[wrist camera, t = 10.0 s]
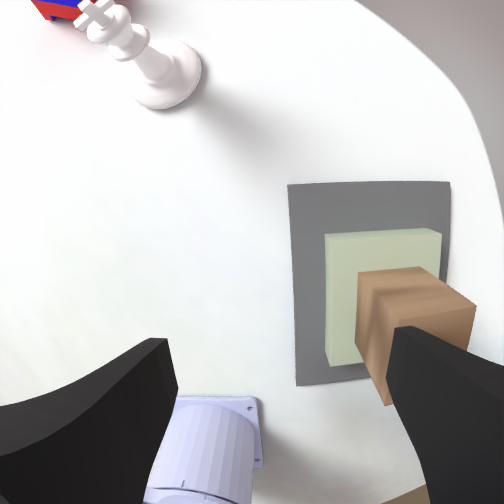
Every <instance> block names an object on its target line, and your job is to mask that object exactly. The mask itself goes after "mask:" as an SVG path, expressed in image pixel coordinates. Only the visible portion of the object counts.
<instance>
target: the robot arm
mask: <svg viewBox="0 0 504 504" xmlns="http://www.w3.org/2000/svg"><path fill="white" fill-rule="evenodd" d="M385 379H386V382H387V385H388V389H389V392H390V395H391V398H392V401H393V404H394V406H395V408H396V410H397V412H398V414H399V416H400V418H401V421H402V423H403V425H404V427H405V429H406V431H407V433H408V435H409V437H410V440H411V442H412V444H413V446H414V448H415V450H416V453H417V455H418V458H419V460H420V463H421V467H422V470H423V474H424V477H425V481H426V485H427V489H428V494H429V498H430V503H431V504H504V366H502V365H499V364H496V363H493V362H491V361H488V360H486V359H483V358H481V357H478V356H476V355H474V354H471V353H469V352H467V351H465V350H463V349H461V348H459V347H456V346H454V345H452V344H450V343H448V342H446V341H444V340H442V339H440V338H438V337H436V336H434V335H432V334H430V333H428V332H426V331H424V330H422V329H419V328H417V327H414V326H403V327H396V328H394V334H393V341H392V347H391V352H390V358H389V363H388V368H387V373H386V378H385ZM177 392H178V385H177V380H176V376H175V372H174V368H173V363H172V359H171V354H170V349H169V345H168V340H167V338H148V339H146V340H144V341H143V342H141V343H139V344H138V345H136V346H134V347H133V348H131V349H129V350H128V351H126V352H125V353H123V354H122V355H120V356H118V357H117V358H115V359H114V360H112V361H110V362H109V363H107V364H106V365H104V366H102V367H100V368H99V369H97V370H95V371H93V372H92V373H90V374H88V375H86V376H84V377H83V378H81V379H79V380H77V381H75V382H73V383H71V384H69V385H67V386H64V387H62V388H60V389H57V390H55V391H52V392H50V393H47V394H44V395H41V396H38V397H35V398H32V399H28V400H25V401H22V402H18V403H14V404H9V405H5V406H0V504H251V500H252V482H253V469H254V468H262V467H263V454H262V445H261V436H260V427H259V417H258V408H257V401H256V399H255V398H253V397H185V396H177ZM249 407H253V408H249ZM166 429H167V431H166ZM165 432H166V434H165ZM164 435H165V436H164ZM163 437H164V439H163ZM162 440H163V442H162ZM161 442H162V445H161ZM160 445H161V447H160ZM159 447H160V450H159ZM158 450H159V453H158V456H157V458H156V461H155V464H154V467H153V470H152V472H151V475H150V478H149V474H150V471H151V468H152V465H153V463H154V460H155V457H156V455H157V452H158ZM148 478H149V481H148ZM147 482H148V484H147Z"/></svg>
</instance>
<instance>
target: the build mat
mask: <svg viewBox="0 0 504 504" xmlns="http://www.w3.org/2000/svg"><path fill="white" fill-rule="evenodd" d="M287 187H288V201H289V216H290V232H291V250H292V269H293V292H294V319H295V357H296V386H306V385H316V384H326V383H334V382H342V381H349V380H356V379H363V378H369V377H371V376H370V373H369V371H368V369H367V367H366V365H365V363H364V362H362V363H355V364H348V365H340V366H331V367H330V365H329V362H328V358H327V355H326V352H325V328H326V264H325V234H333V233H349V232H365V231H381V230H398V229H416V228H428V229H431V230H433V231H436V232H438V233H441V234H442V241H441V257H440V269H439V280H441V281H442V282H444V283H445V284H446V276H447V266H448V254H449V238H450V182H439V181H369V182H335V183H312V184H294V185H287Z"/></svg>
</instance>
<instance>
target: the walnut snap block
mask: <svg viewBox="0 0 504 504" xmlns="http://www.w3.org/2000/svg"><path fill="white" fill-rule="evenodd" d="M476 306H477V305H475V304H474V303H472V302H471V301H470V300H468V299H467V298H465V297H464V296H463V295H461V294H460V293H458V292H457V291H456V290H454V289H453V288H451V287H450V286H448V285H447V284H445V283H444V282H442V281H441V280H439V279H438V278H437V277H435V276H434V275H432V274H431V273H429V272H428V271H426V270H424V269H423V268H421V267H420V266H417V267H408V268H398V269H387V270H377V271H366V272H358V280H357V308H356V326H355V341H354V342H355V345H356V347H357V349H358V351H359V353H360V355H361V357H362V359H363V361H364V363H365V365H366V367H367V369H368V371H369V373H370V376H371V378H372V380H373V382H374V384H375V386H376V388H377V391H378V393H379V395H380V397H381V399H382V401H383V404H384V406H387V405H391V404H393V401H392V398H391V395H390V392H389V389H388V385H387V382H386V379H385V378H386V373H387V368H388V363H389V358H390V352H391V347H392V341H393V334H394V328H396V327H403V326H414V327H417V328H419V329H422V330H424V331H426V332H428V333H430V334H432V335H434V336H436V337H438V338H440V339H442V340H444V341H446V342H448V343H450V344H452V345H454V346H456V347H459V348H461V349H463V350H465V351H467V347H468V343H469V339H470V335H471V331H472V326H473V322H474V317H475V312H476Z"/></svg>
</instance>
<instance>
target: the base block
mask: <svg viewBox="0 0 504 504" xmlns="http://www.w3.org/2000/svg"><path fill="white" fill-rule="evenodd" d="M441 241H442V234H441V233H438V232H436V231H433V230H431V229H428V228H416V229H398V230H381V231H365V232H349V233H333V234H325V264H326V328H325V352H326V355H327V358H328V362H329V365H330V367H331V366H340V365H348V364H355V363H362V362H364V361H363V359H362V357H361V355H360V353H359V351H358V349H357V347H356V345H355V342H354V341H355V326H356V308H357V280H358V272H366V271H377V270H387V269H398V268H408V267H417V266H420V267H421V268H423V269H424V270H426V271H428V272H429V273H431V274H432V275H434V276H435V277H437V278H438V279H439V269H440V257H441Z"/></svg>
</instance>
